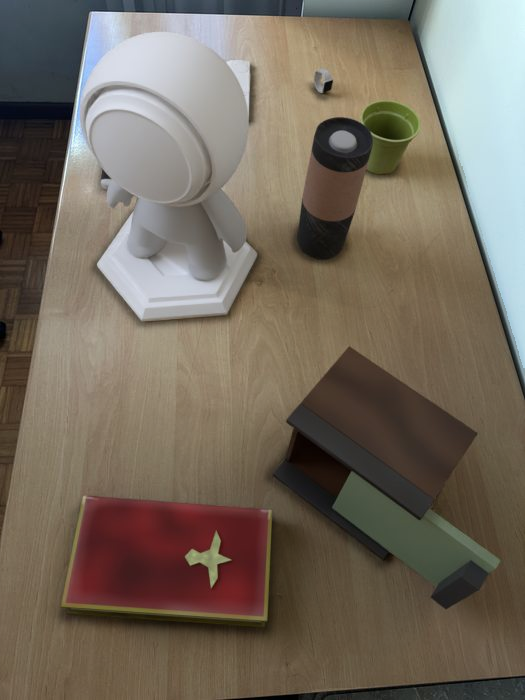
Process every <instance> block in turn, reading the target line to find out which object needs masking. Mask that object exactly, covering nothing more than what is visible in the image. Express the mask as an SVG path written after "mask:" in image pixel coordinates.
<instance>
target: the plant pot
mask: <svg viewBox="0 0 525 700" xmlns="http://www.w3.org/2000/svg"><path fill="white" fill-rule="evenodd" d="M359 118H360V119H359V120H360V123H362V124H363V125H365V126H366V127H367V128H368V129H369V131H370V132H371V134H372V137H373V146H372V150H371V153H370V157H369V161H368V165H367V168H366V171H368V172H370V173H372V174H375V175H381V174H387V175H388V174H391V173H393V172H394V171H395V170H396V169H397V167H398V165H399V163H400V162H401V159H402V157H403V155H404V153H405V152H406V150H407V148H408V146H409V144H410V143H411V142H412V141H413V140H414V139H415V138H416V137H417V136H418V135H419V133H420V130H421V128H422V122H421V121H422V120H421V118H420V115H418V113H417V112H416V111H415V110H414V109H413V108H412V107H410V106H408V105H407V104H405V103H402V102H400V101H395V100H391V99H389V100H388V99H381V100H376V101H372V102H370V103H369V104H367V105H365V107H363V109H362V110H361V112H360V117H359Z"/></svg>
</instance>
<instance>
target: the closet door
mask: <svg viewBox="0 0 525 700" xmlns="http://www.w3.org/2000/svg"><path fill="white" fill-rule="evenodd" d="M332 508H333V509H334V510H336V511H337V512H338V513H339V514H341V515H342V516H343V517H345V518H346V519H347V520H349V521H350V522H351V523H353V524H354V525H355V526H357V527H358V528H359V529H360V530H362V531H363V532H364V533H366V534H367V535H368V536H370V537H371V538H372V539H374V540H375V541H376V542H378V543H379V544H380V545H381V546H383V547H384V548H385V549H387V550H388V551H389V552H388V553H390V554H391V555H393V556H395V557H396V558H397V559H398V560H400V562H402V563H404V564H405V565H406V566H408V567H409V568H410V569H411V570H413V571H414V572H415V573H417V574H418V575H420V576H421V577H422V578H423V579H425V580H426V581H427V582H429V583H430V584H431V585H433V586H434V587H435V589H434V590H433V592H432V594H431V595H430V599H432V600H433V601H434V602H436V604H438V605H440V606H441V607H442V608H443V609H445V610H448V609H449V608H451V607H453V606H455V605H456V604H458V603H460V602H462V601H463V600H465V599H466V598H469V597H470V596H472V595H473V594H476V593H477V592H479V591H480V590H481V588H482V586H483V585H484V583H485V582H486V579H487V578H488V576H489V574H490V573H491V572H493V571H495V570H496V569H497V568H498V567H499V564H500V563H501V561H502V560H501V559H500V558H499V557H497V556H496V555H494V554H493V553H491V552H490V551H488V550H487V549H486V548H485V547H483V546H482V545H480V544H479V543H478V542H477V541H475V540H473V539H472V538H471V537H469V536H468V535H466V533H464V532H462V531H461V530H460V529H458V528H457V527H456V526H454V525H453V524H452V523H450V522H449V521H447V520H446V519H444V518H443V517H442V516H441V515H439V514H438V513H436V512H435V511H433V510H432V509H430V508H429V509H428V510H427V512H426V513H425V515H424V516H423V518H422V519H421V520H420V521H419V520H418V519H417V518H415V517H414V516H412V515H411V514H410V513H408V512H407V511H406V510H404V509H403V508H402V507H400V506H399V505H397V504H396V503H395V502H393V501H392V500H391V499H389V498H388V497H387V496H385V495H384V494H383V493H381V492H380V491H378V490H377V489H376V488H374V487H373V486H372V485H370V484H369V483H368V482H366V481H365V480H364V479H362V478H361V477H359V476H358V475H357V474H355V473H354V472H353V471H351V473H350V475H349V477H348V479H347V481H346V483H345V484H344V486H343V488H342V490H341V492H340V494H339V496H338V498H337V499H336V501H335V503H334V505H333V507H332Z"/></svg>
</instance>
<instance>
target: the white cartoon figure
mask: <svg viewBox="0 0 525 700" xmlns="http://www.w3.org/2000/svg"><path fill="white" fill-rule="evenodd" d="M226 62H227V61H225V60H224V59H223V58H222V56H221V55H220V54H219V53H218V52H216V51H215V50H214V49H212V48H211V47H209V46H208V45H206V43H204V42H202V41H200V40H198V39H196V38H194V37H191V36H188V35H186V34H181V33H178V32H177V33H176V32H170V31H152V32H144V33H140V34H136V35H134V36H131V37H129V38H127V39H125V40H123V41H121V42H119V43H118V44H116V45H115V46H114V47H112V48H111V49H109V50H108V51H107V52H106V53H105V54H104V55H103V56H102V57H101V59H99V61H97V63H96V64H95V66H94V67H93V68H92V70H91V72H90V74H89V75H88V78H87V80H86V82H85V85H84V87H83V90H82V93H81V98H80V103H79V123H80V129H81V133H82V136H83V139H84V140H85V143H86V145H87V147H88V149H89V151H90V153H91V154H92V155H93V157H94V158H95V160H96V161H97V163H98V165H99V166H100V167H101V170H102V169H103V170H104V171H105V172H106V174H107V175H108V176H109V177H110V178H111V179H112V180H111V182H110V184H109V186H108V189H106V201H107V204H108V207H109V208H111V209H112V210H113V209H115V208H116V207H117V206H118V204H119V203H123V206H124V207H130V205H131V203H132V198H133V197H134V196H135V197H136V201H135V204H134V208H133V211H132V212H131V214H130V215H129V217H128V218H127V219H126V221H125V222H124V224H123V225H122V227H121V228H120V230H119V231H118V233H117V234H116V235H115V237H114V238H113V240H112V241H111V243H110V244H109V246H108V247H107V248H106V250H105V251H104V253H103V254H102V256H101V257H100V259H98V261H97V264H96V266H97V269H99V271H100V272H101V273H102V274H103V276H104V277H105V278H106V280H108V282H110V284H111V285H112V287H113V288H114V289H115V290H116V291H117V292H118V294H119V295H120V296H121V298H122V299H123V300H124V301H125V302H126V304H127V305H128V306H129V307H130V308H131V310H132V311H133V312H134V314H136V316H137V318H139V320H140V321H141V322H157V321H168V320H180V319H181V320H183V319H195V318H208V317H219V316H227V315H228V312H229V311H230V310H231V308H232V305H233V303H234V301H235V300H236V297H237V296H238V294H239V292H240V290H241V288H242V287H243V284H244V282H245V280H246V278H247V276H248V274H249V273H250V271H251V269H252V267H253V265H254V263H255V261H256V259H257V257H258V252H257V251H256V250H255V249H254V248H253V247H252V246H251V245H250V244H249V243H248V242H247V238H248V231H247V224H246V221H245V219H244V216H243V215H242V214H241V212H240V211H239V209H238V207H237V206H236V204H235V203H234V202H233V201H232V199H231V198H230V197H229V195H228V194H227V193H226V192H225V191H224V190H223V189H222V188H223V187H225V185H226V184H227V183H228V182H229V181H230V179H231V178H232V177H233V175H235V173H236V171H237V169H238V167H239V166H240V163H241V162H242V159H243V157H244V154H245V151H246V147H247V142H248V137H249V129H250V128H249V125H250V123H249V122H250V118H249V119H248V109H247V104H246V100H245V96H244V93H243V90H242V88H241V85H240V83H239V81H238V79H237V77H236V76H235V74H234V73H233V71H232V70H231V68H230V67H229V66H228V64H227V63H226Z"/></svg>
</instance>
